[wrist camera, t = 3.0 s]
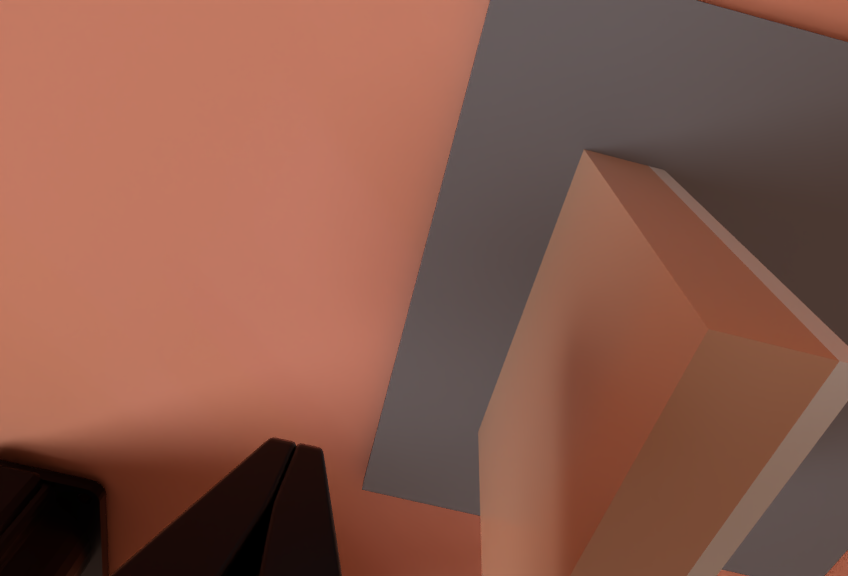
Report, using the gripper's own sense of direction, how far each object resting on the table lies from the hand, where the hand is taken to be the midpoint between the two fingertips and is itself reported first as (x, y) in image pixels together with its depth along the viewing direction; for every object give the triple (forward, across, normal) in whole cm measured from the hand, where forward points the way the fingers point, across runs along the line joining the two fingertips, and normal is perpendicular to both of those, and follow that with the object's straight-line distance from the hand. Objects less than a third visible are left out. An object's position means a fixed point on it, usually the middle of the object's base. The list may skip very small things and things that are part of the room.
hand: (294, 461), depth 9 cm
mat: (+8, -10, 0) cm, 12 cm away
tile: (+7, -5, 0) cm, 9 cm away
